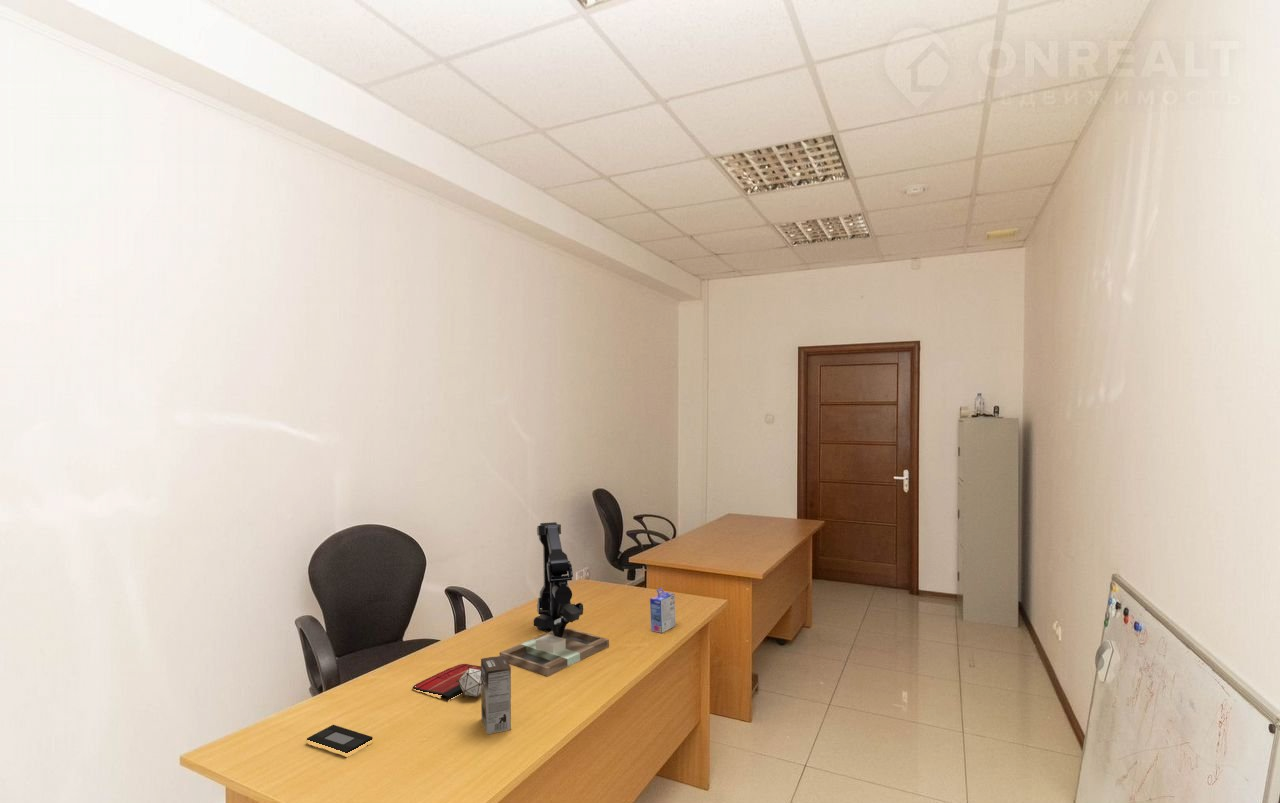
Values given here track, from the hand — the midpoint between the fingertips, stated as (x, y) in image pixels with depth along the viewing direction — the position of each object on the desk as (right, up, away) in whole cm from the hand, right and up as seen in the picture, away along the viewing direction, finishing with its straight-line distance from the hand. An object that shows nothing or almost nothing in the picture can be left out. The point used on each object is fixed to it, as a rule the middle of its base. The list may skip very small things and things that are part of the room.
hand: (559, 641), depth 213 cm
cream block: (-2, -1, -4) cm, 4 cm away
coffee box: (-10, -3, -49) cm, 50 cm away
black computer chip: (-47, -4, -58) cm, 75 cm away
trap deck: (-1, -4, -1) cm, 4 cm away
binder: (-28, -4, -23) cm, 37 cm away
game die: (-21, -3, -33) cm, 39 cm away
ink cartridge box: (+36, -4, +22) cm, 43 cm away
